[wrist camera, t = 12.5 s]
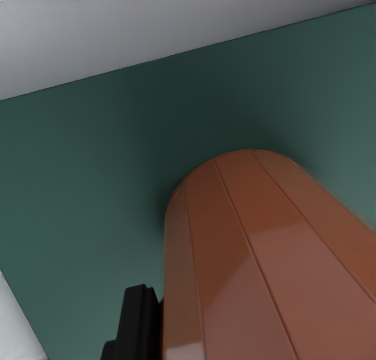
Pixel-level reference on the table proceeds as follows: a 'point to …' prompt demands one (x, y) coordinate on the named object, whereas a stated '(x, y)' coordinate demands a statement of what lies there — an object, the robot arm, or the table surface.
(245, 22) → the table surface
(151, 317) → the robot arm
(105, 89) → the mat
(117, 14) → the table surface
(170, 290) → the tea mug
